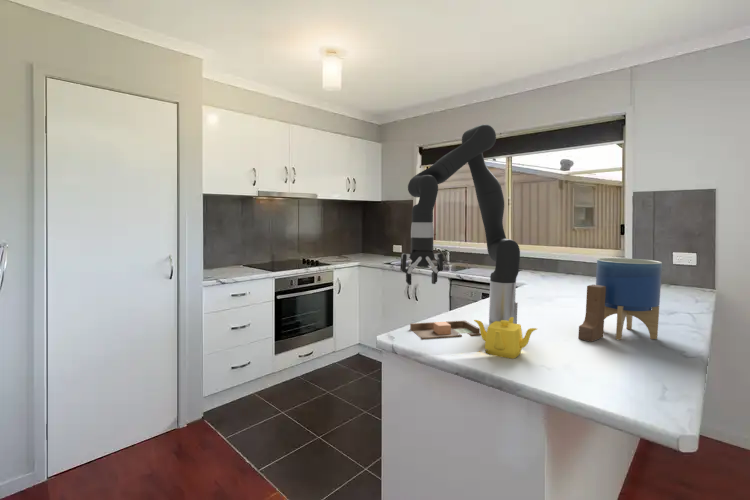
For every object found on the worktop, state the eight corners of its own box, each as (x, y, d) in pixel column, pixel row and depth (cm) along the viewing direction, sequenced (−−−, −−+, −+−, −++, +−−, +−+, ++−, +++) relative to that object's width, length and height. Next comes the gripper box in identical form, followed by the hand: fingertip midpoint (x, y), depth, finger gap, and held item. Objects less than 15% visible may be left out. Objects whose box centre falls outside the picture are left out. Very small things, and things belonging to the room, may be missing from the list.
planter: (587, 333, 139) (590, 260, 137) (600, 323, 153) (604, 256, 151) (652, 346, 126) (657, 265, 124) (661, 333, 140) (665, 260, 138)
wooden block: (591, 342, 129) (594, 288, 128) (577, 338, 133) (580, 286, 131) (603, 337, 135) (606, 286, 133) (590, 334, 138) (592, 284, 137)
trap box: (464, 329, 143) (464, 320, 143) (480, 339, 131) (481, 329, 131) (410, 333, 138) (410, 323, 138) (422, 343, 126) (422, 333, 126)
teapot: (495, 361, 111) (496, 328, 110) (471, 346, 125) (472, 316, 124) (539, 357, 114) (540, 325, 114) (511, 343, 128) (512, 314, 127)
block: (445, 330, 137) (445, 321, 137) (450, 333, 133) (451, 325, 132) (433, 330, 136) (433, 322, 136) (438, 334, 132) (438, 325, 131)
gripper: (438, 235, 135) (437, 281, 136) (398, 235, 132) (398, 283, 134) (446, 236, 128) (445, 285, 129) (404, 236, 125) (404, 286, 126)
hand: (421, 284), depth 131 cm, fingers open, 8 cm apart
